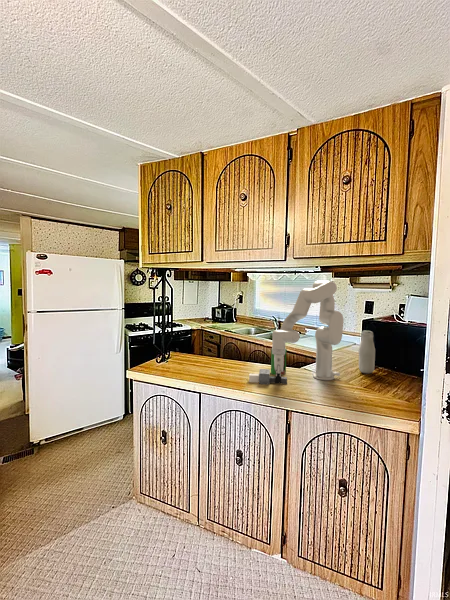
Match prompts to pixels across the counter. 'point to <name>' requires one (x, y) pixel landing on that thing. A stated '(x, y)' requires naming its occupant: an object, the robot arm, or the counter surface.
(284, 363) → the motor
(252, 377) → the plug
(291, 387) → the counter surface
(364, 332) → the light grey bottle
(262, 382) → the housing
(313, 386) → the counter surface
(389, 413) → the counter surface
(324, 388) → the counter surface
